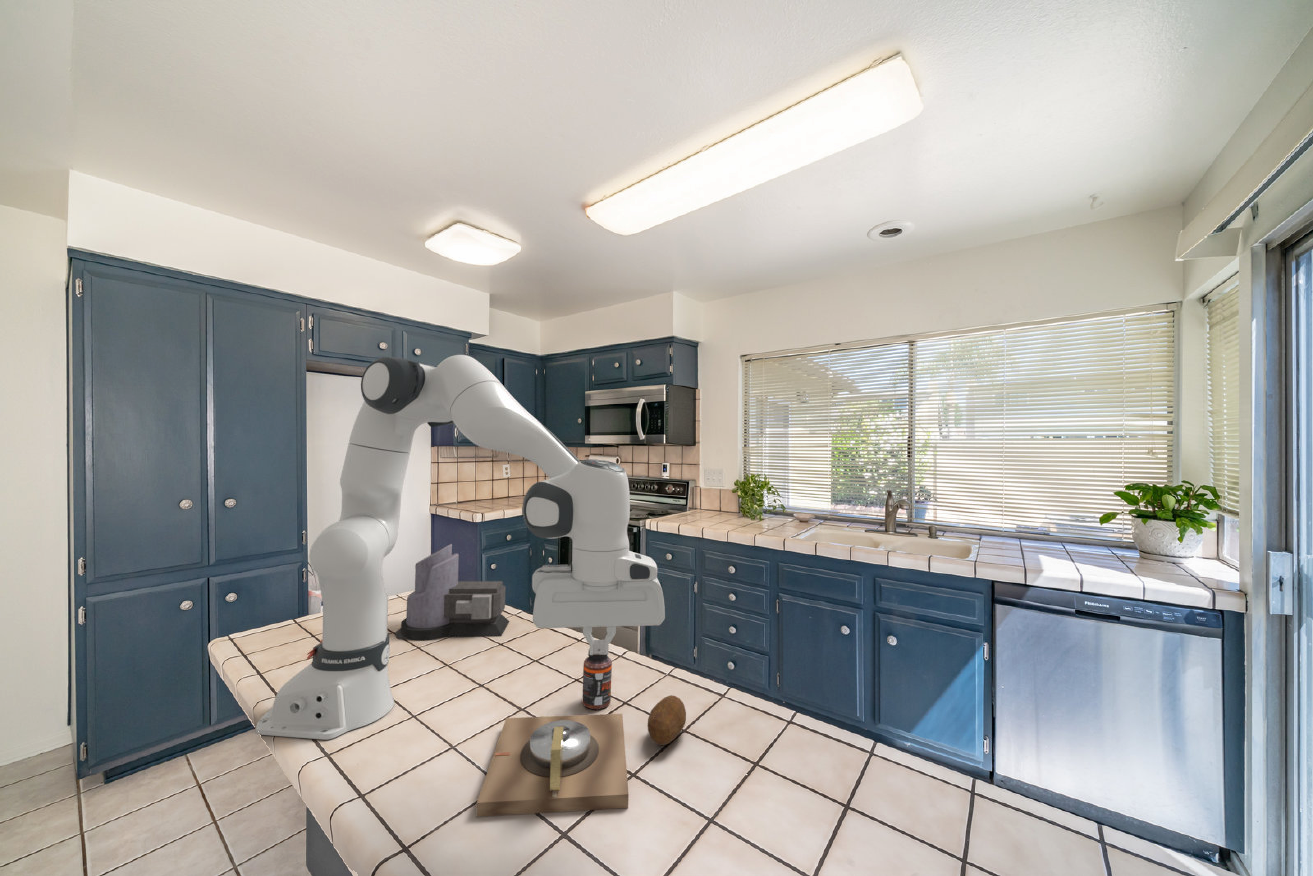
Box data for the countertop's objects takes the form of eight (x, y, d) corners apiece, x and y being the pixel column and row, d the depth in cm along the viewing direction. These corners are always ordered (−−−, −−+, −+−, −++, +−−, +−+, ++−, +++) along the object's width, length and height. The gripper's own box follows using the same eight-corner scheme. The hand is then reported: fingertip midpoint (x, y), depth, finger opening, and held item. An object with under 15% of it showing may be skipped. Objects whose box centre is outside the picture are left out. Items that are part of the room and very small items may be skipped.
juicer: (385, 641, 131) (388, 550, 132) (409, 620, 147) (411, 539, 148) (499, 640, 134) (502, 550, 135) (511, 619, 150) (513, 539, 151)
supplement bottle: (605, 712, 99) (607, 656, 99) (578, 709, 100) (579, 653, 100) (614, 698, 105) (615, 644, 105) (587, 694, 106) (589, 642, 106)
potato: (639, 753, 86) (640, 713, 86) (656, 718, 97) (657, 683, 98) (677, 760, 85) (678, 720, 85) (690, 724, 96) (690, 688, 96)
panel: (476, 816, 71) (476, 801, 71) (505, 728, 93) (506, 717, 93) (628, 807, 73) (628, 793, 73) (622, 724, 95) (622, 712, 95)
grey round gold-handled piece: (534, 732, 87) (535, 698, 87) (590, 730, 89) (591, 697, 89) (520, 792, 72) (521, 751, 73) (588, 788, 74) (589, 748, 74)
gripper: (529, 570, 72) (527, 664, 72) (667, 568, 74) (665, 660, 74) (535, 560, 78) (533, 647, 78) (662, 558, 80) (660, 643, 80)
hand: (599, 653), depth 76 cm, fingers closed
